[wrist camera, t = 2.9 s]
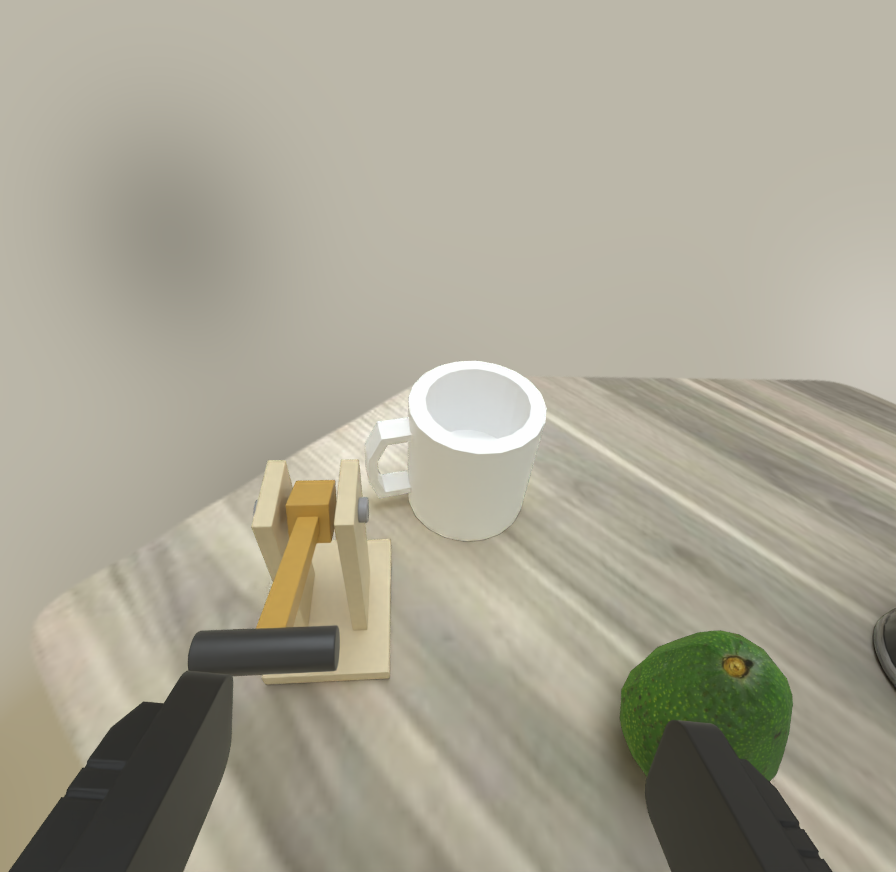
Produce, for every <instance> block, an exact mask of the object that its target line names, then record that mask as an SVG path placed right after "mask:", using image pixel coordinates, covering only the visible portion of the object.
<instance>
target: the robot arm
mask: <svg viewBox="0 0 896 872" xmlns="http://www.w3.org/2000/svg"><path fill="white" fill-rule="evenodd" d="M874 646H875V650H876V654H877V656H878V659H879V661H880V664H881V666H882V667H883V669H884V671H885V673H886V674H887V676H888V678H889V679H890V680H891V682H892V683H893V685H894V686H895V687H896V608H895V609H893V610H891V611H890V612H888V613H887V614H885V615H883V616H882V617H881V618H880V619H879V620H878V622H877V624H876V626H875V629H874ZM232 704H233V677H232V675H228V674H218V673H208V672H198V671H186V672H185V673H183V675H182V676H181V677H180V678H179V680H178V681H177V683H176V685H175V686H174V688H173V689H172V691H171V693H170V694H169V696H168V697H167V699H166V701H165V702H164V703H153V702H142V703H141V704H140V705H139V706H137V707H136V708H135V709H134V710H132V711H131V712H130V713H129V714H127V715H126V716H125V717H124V718H122V719H121V720H120V721H119V722H117V723H116V724H115V725H114V726H112V727H111V728H110V730H109V731H108V733H107V734H106V735H105V737H104V738H103V740H102V741H101V742H100V744H99V745H98V747H97V748H96V749H95V751H94V752H93V754H92V755H91V756H90V758H89V759H88V761H87V765H86V766H85V768H82V769H81V771H80V772H79V773H78V775H77V776H76V778H75V779H74V780H73V782H72V783H71V785H70V786H69V787H68V789H67V792H66V795H65V796H64V797H61V799H60V800H59V801H58V803H57V804H56V806H55V807H54V808H53V810H52V811H51V813H50V814H49V815H48V817H47V818H46V820H45V821H44V823H43V824H42V825H41V827H40V828H39V830H38V831H37V832H36V834H35V835H34V837H33V838H32V839H31V841H30V842H29V844H28V845H27V846H26V848H25V849H24V851H23V852H22V853H21V855H20V856H19V858H18V859H17V861H16V862H15V863H14V865H13V866H12V868H11V869H10V870H9V872H183V871H184V868H185V866H186V864H187V861H188V859H189V856H190V854H191V852H192V849H193V847H194V844H195V842H196V840H197V837H198V835H199V833H200V830H201V828H202V825H203V823H204V821H205V818H206V816H207V813H208V811H209V809H210V806H211V804H212V801H213V799H214V797H215V794H216V792H217V789H218V787H219V785H220V782H221V780H222V777H223V774H224V771H225V768H226V764H227V761H228V757H229V752H230V746H231V737H232ZM645 796H646V804H647V809H648V813H649V817H650V819H651V822H652V824H653V827H654V829H655V832H656V834H657V837H658V839H659V842H660V844H661V847H662V849H663V852H664V854H665V857H666V859H667V862H668V864H669V867H670V869H671V872H832V871H831V869H830V868H829V866H828V865H827V863H826V862H825V860H824V859H821V858H820V857H819V854H818V852H819V851H818V850H817V848H816V847H815V845H814V844H813V842H812V841H811V839H810V838H809V836H808V835H807V833H806V832H805V830H804V829H801V828H800V827H799V821H798V820H797V819H796V817H795V816H794V814H793V813H792V811H791V810H790V808H789V807H788V805H787V804H786V802H785V801H784V799H783V798H782V796H781V795H780V793H779V792H778V790H777V789H776V788H775V787H774V786H773V785H772V784H771V783H770V782H769V781H768V780H767V779H766V778H765V777H764V776H763V775H762V774H761V773H760V772H759V771H758V770H757V769H756V768H755V767H754V766H753V765H752V764H751V763H750V762H749V761H748V760H747V759H739V757H738V756H737V754H736V753H735V751H734V750H733V748H732V746H731V745H730V743H729V742H728V740H727V739H726V737H725V736H724V734H723V733H722V731H721V730H720V729H719V728H718V727H717V726H716V725H714V724H711V723H701V722H691V721H680V720H671V721H669V722H668V723H667V725H666V727H665V730H664V732H663V735H662V738H661V740H660V743H659V746H658V748H657V751H656V754H655V756H654V759H653V762H652V764H651V767H650V770H649V773H648V775H647V779H646V785H645Z"/></svg>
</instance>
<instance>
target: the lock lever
mask: <svg viewBox="0 0 896 872" xmlns="http://www.w3.org/2000/svg"><path fill="white" fill-rule="evenodd" d="M285 506H286V515H287V525H288V534H289V541H288V544H287V547H286V549H285V552H284V555H283V557H282V560H281V563H280V565H279V568H278V571H277V573H276V576H275V579H274V581H273V584H272V587H271V589H270V592H269V595H268V598H267V600H266V603H265V606H264V608H263V611H262V614H261V616H260V619H259V622H258V624H257V627H256V629H233V630H208V631H199V632H198V633H196V635H195V636H194V638H193V640H192V643H191V646H190V649H189V655H188V670H189V671H198V672H208V673H218V674H228V675H232V676H247V675H268V674H289V673H309V672H330V671H336V670H337V667H338V662H339V651H340V632H339V627H338V626H337V625H332V626H307V627H293V626H294V623H295V619H296V616H297V612H298V608H299V605H300V601H301V598H302V594H303V590H304V587H305V583H306V580H307V576H308V572H309V569H310V565H311V562H312V558H313V554H314V551H315V547H316V544H317V543H331V541H332V537H333V532H334V519H335V510H336V487H335V480H314V481H296V482H295V485H294V487H293V489H292V491H291V494H290V496H289V498H288V501H287V503H286V505H285Z"/></svg>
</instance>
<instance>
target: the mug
mask: <svg viewBox="0 0 896 872" xmlns="http://www.w3.org/2000/svg"><path fill="white" fill-rule="evenodd" d="M545 419H546V406H545V403H544V400H543V397H542V395H541V393H540V392H539V391H538V390H537V388H536V387H535V386H534V385H533V384H532V383H531V382H530V381H529V380H528V379H526V378H525V377H523V376H522V375H520V374H519V373H517V372H516V371H513V370H511V369H508V368H505V367H503V366H500V365H497V364H492V363H486V362H481V361H458V362H454V363H449V364H445V365H440V366H438V367H436V368H434V369H432V370H431V371H428V372H426V373H425V374H424V375H423V376H422V377H421V378H420V379H419V380H418V381H417V382H416V383H415V384H414V385H413V388H412V390H411V393H410V395H409V398H408V417H406V418H399V419H392V420H386V421H379V422H377V423H376V425H375V426H374V428H373V430H372V432H371V433H370V435H369V437H368V439H367V441H366V442H365V466H366V470H367V475H368V480H369V483H370V485H371V486H372V488H373V489H374V491H375V492H376V494H377V495H378V497H379V498H385V497H390V496H396V495H401V494H407V493H408V495H409V503H410V505H411V507H412V509H413V512H414V514H415V516H416V517H417V518H418V519H419V520H420V521H421V522H422V523H423V524H424V525H425V526H426V527H427V528H428V529H430V530H432V531H434V532H436V533H437V534H439V535H441V536H443V537H445V538H450V539H455V540H460V541H477V540H485V539H488V538H490V537H493V536H496V535H498V534H501V533H502V532H503V531H504V530H505V529H507V528H508V527H509V526H510V525H512V524H513V523H514V521H515V519H516V517H517V516H518V514H519V512H520V510H521V507H522V503H523V500H524V496H525V492H526V489H527V485H528V482H529V478H530V475H531V471H532V468H533V464H534V460H535V457H536V453H537V450H538V446H539V443H540V439H541V436H542V432H543V428H544V425H545ZM405 442H408V473H407V470H406V471H400V472H394V473H388V474H382V475H381V473H380V472H379V470H378V461H379V459H380V457H381V456H382V454H383V452H384V451H385V449H386V447H387V446H388V445H392V444H399V443H405Z"/></svg>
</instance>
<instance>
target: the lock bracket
mask: <svg viewBox="0 0 896 872" xmlns="http://www.w3.org/2000/svg"><path fill="white" fill-rule="evenodd" d="M292 489H293V487H292V483H291V479H290V475H289V472H288V468H287V464H286V461H285V460H274V461H273V460H269V461H268V462H267V466H266V470H265V474H264V478H263V482H262V486H261V490H260V494H259V498H258V499H257V500H256V502H255V505H254V518H253V522H252V526H251V527H252V530H253V532H254V535H255V538H256V540H257V543H258V545H259V548H260V550H261V553H262V555H263V558H264V560H265V563H266V566H267V568H268V571H269V573H270V576H271V578H272V581H274V579H275V576H276V573H277V571H278V568H279V565H280V563H281V560H282V557H283V555H284V552H285V549H286V547H287V544H288V541H289V534H288V525H287V515H286V506H285V505H286V503H287V501H288V498H289V496H290V494H291V491H292ZM368 518H369V501H368V498H367V497H363V495H362V485H361V475H360V465H359V460H358V459H354V460H341V465H340V474H339V483H338V492H337V501H336V510H335V519H334V529H335V534H336V540H333V541H331V543H317V544H316V547H315V551H314V554H313V558H312V562H311V565H310V569H309V572H308V576H307V580H306V583H305V587H304V590H303V594H302V598H301V601H300V605H299V608H298V612H297V616H296V619H295V623H294V626H293V627H307V626H332V625H337V626H338V627H339V632H340V651H339V662H338V667H337V670H336V671H330V672H309V673H289V674H268V675H262V680H263V681H264V683H265V684H266V685H267V684H287V683H306V682H326V681H346V680H366V679H386V678H390V606H391V539H374V540H367V535H366V525H365V523H367V522H368Z"/></svg>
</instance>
